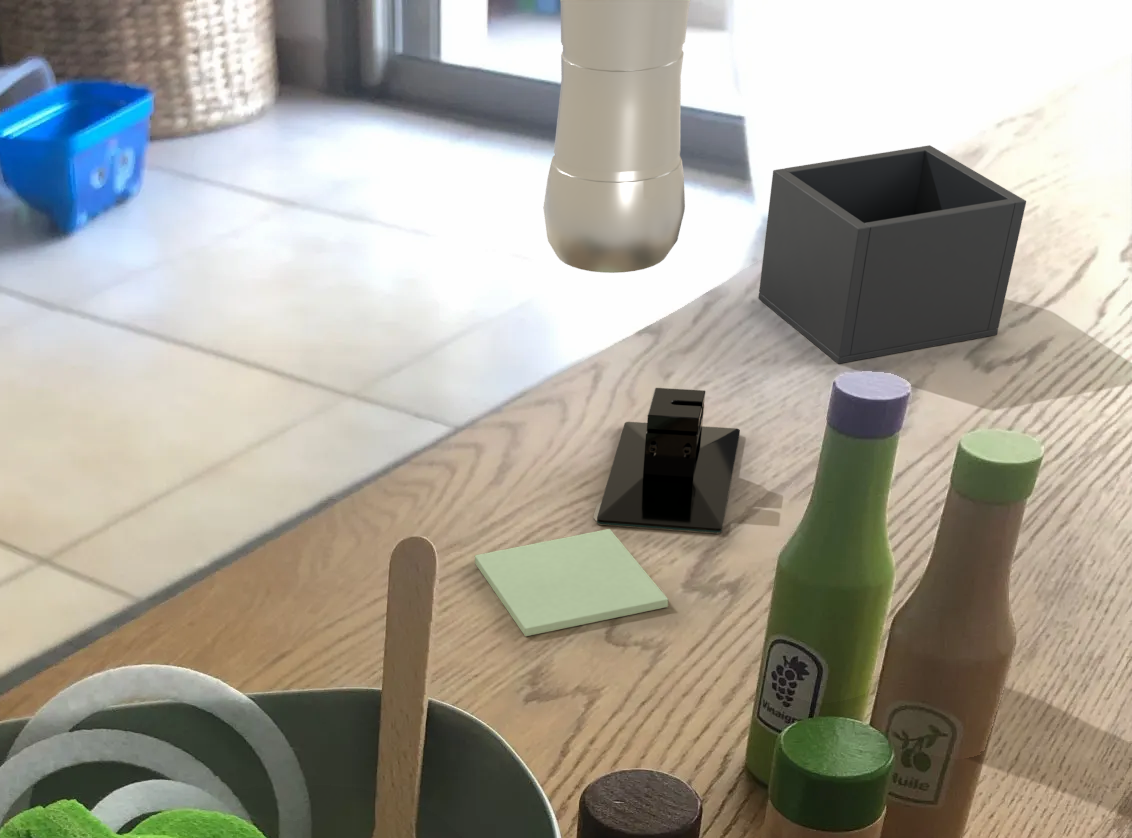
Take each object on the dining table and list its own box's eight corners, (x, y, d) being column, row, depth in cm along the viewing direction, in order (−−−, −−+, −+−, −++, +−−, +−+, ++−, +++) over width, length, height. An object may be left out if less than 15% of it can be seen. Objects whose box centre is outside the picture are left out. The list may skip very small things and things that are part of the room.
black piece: (721, 536, 91) (729, 458, 88) (591, 526, 92) (594, 449, 89) (740, 433, 99) (748, 358, 96) (620, 426, 101) (624, 352, 97)
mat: (609, 536, 91) (610, 528, 91) (668, 607, 86) (668, 598, 85) (474, 563, 90) (474, 555, 89) (525, 636, 84) (525, 628, 84)
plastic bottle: (609, 228, 81) (632, -275, 67) (710, 263, 78) (757, -263, 64) (514, 264, 79) (517, -253, 65) (613, 302, 75) (640, -239, 61)
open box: (907, 272, 116) (930, 144, 110) (997, 334, 108) (1026, 200, 102) (757, 298, 113) (772, 169, 108) (838, 363, 105) (858, 228, 100)
